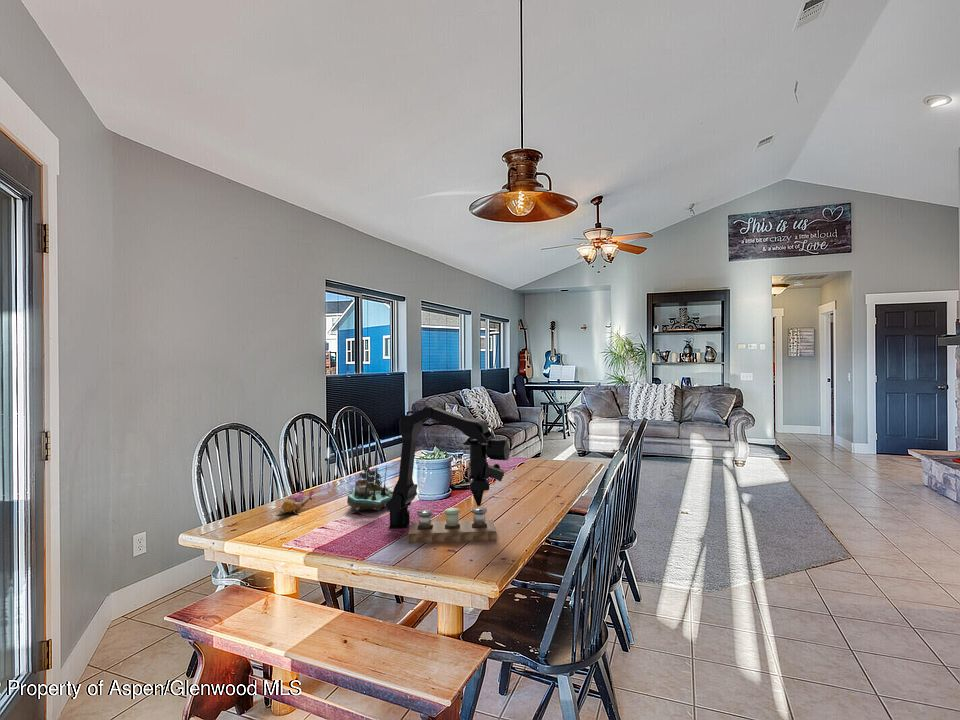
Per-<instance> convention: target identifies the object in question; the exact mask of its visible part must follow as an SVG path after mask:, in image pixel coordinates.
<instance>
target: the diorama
mask: <svg viewBox="0 0 960 720" xmlns="http://www.w3.org/2000/svg"><path fill="white" fill-rule="evenodd" d="M370 465H371V463H369V464H364V467H361V471H362V472H360V473H358V476H359V478H358V480H356V481H355V485H354V486H355V488H354V489H353V488H351V491H349V493H348V495H347V499H346V500H347V505H348V506H349V507H351V508H352V509H354V510H356V511H358V512H359V511H360V512H362V511H371V510H372V511H378V512H379V511H380V510H381V509H383V508H384V507H385V508H386V504H387V503H388V502H389V500H390V499H391V498H392V494H393V490H392V489H390V488H389V487H386V478H387V472H385V473H384V475H385V476H384V481H382V480H381V479H382V475H381V474H380V473H379V472H378V471H379V468H375V470H371V469H370ZM387 467H388V464H386V466H385V471H388V470H387ZM383 482H384V483H383ZM382 483H383V485H382Z"/></svg>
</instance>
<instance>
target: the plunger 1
mask: <svg viewBox="0 0 960 720" xmlns="http://www.w3.org/2000/svg"><path fill="white" fill-rule="evenodd" d="M416 513H417V514H416V515H417V516H418V522H419V527H420V528H429V527H431V522H432V516H433V510H431V509H422V510H421V509H420V510H418V511H416Z"/></svg>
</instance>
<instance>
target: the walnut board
mask: <svg viewBox="0 0 960 720" xmlns="http://www.w3.org/2000/svg"><path fill="white" fill-rule="evenodd" d="M410 523H411V524H410V527H409V531H408V535H407V537H408V544H421V543H424V544H426V543H453V542H454V543H455V542H456V543H458V542H459V543H462V542H482V541H483V542H491V541H493V542H495V541H496V542H497V532H496V531H497V530H496V526H495V521H494V519H485V524H484V525H474V524H473V520H458V525H456V526H448V525H446V520H444V521H443V520H442V521H441V520H440V521H431V527H429V528H420V527H419V521H411V522H410Z"/></svg>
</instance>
